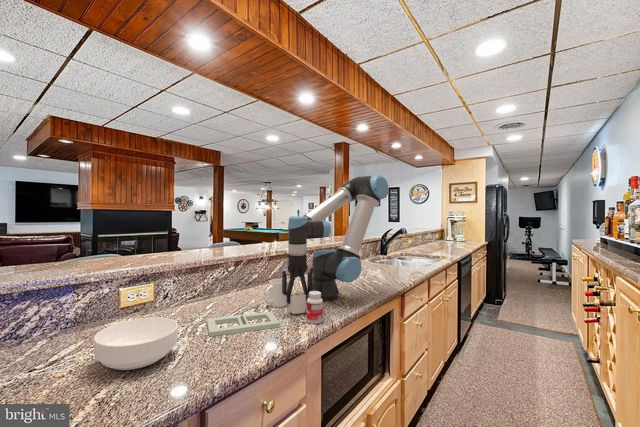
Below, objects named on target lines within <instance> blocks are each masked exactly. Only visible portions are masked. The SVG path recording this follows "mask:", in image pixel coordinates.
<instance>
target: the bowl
mask: <svg viewBox="0 0 640 427" xmlns="http://www.w3.org/2000/svg"><path fill="white" fill-rule="evenodd" d="M178 333H179V324H178V322H177V321H176V320H174V319H171V318H167V317H158V316H157V317H153V316H152V317H142V318H135V319H129V320H125V321H121V322H118V323H114V324H112V325H109V326H107V327H105V328H103V329H101V330H100V331H98V332H97V333H96V334H95V335H94V338H93V353H94V359H95V360H96V361H98V362H99V363H101V364H102V366H105V367H106V368H111V369H113V370H116V371H117V370H118V371H129V370H130V371H131V370H137V369H141V368H144V367H148V366H150V365H153V364H154V363H156V362H158V361H160V360H162V359H163V357H166V356H167V355H168V354H169V353H170V352H171V350H172V348H174V347H175V346H176V344H177V342H178Z"/></svg>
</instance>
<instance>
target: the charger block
mask: <svg viewBox="0 0 640 427" xmlns="http://www.w3.org/2000/svg"><path fill="white" fill-rule="evenodd" d="M303 293H304V292H301V291H298V292H291V295H292V296H293V307H292V312H291V314H293V315H296V314H297V315H298V314H303V313H306V310H305V295H304V294H303Z"/></svg>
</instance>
